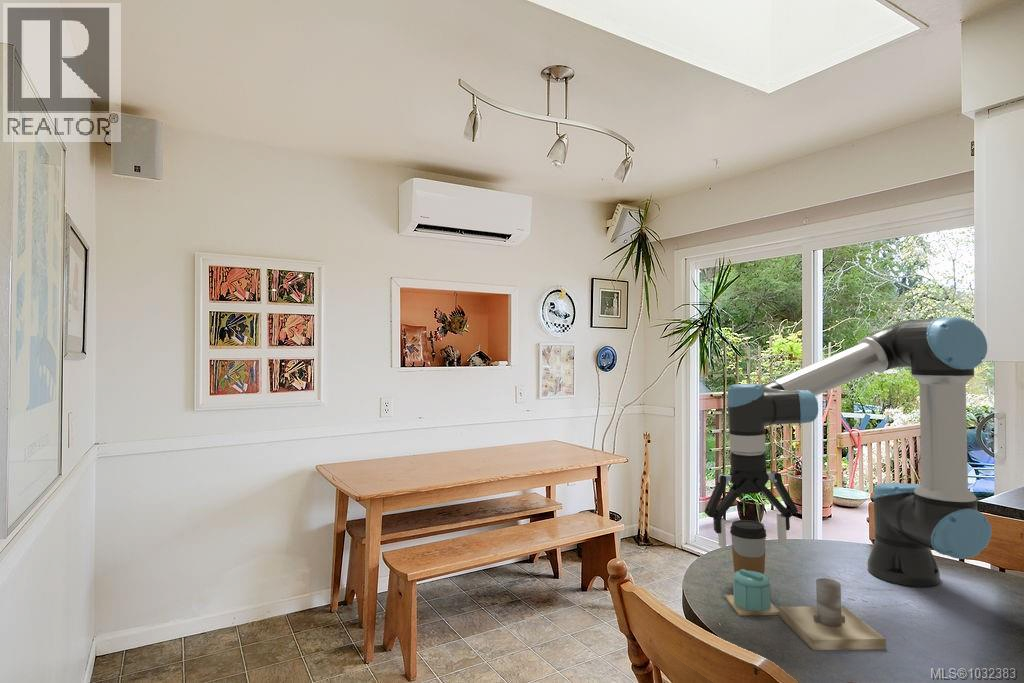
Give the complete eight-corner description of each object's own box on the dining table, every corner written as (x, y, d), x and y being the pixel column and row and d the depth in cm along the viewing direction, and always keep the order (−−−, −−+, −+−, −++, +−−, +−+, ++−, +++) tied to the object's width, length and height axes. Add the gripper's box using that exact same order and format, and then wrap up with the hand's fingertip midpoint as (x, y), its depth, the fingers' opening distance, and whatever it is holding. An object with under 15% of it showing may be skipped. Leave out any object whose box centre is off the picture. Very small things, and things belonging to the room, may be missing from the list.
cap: (776, 605, 127) (776, 575, 127) (755, 613, 123) (754, 582, 123) (748, 593, 133) (747, 564, 134) (727, 601, 130) (726, 571, 130)
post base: (844, 615, 123) (842, 569, 123) (885, 649, 109) (884, 597, 109) (779, 616, 123) (778, 569, 124) (813, 650, 109) (811, 598, 110)
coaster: (762, 597, 133) (762, 594, 133) (780, 614, 124) (780, 612, 124) (724, 597, 133) (724, 595, 133) (739, 615, 124) (739, 612, 124)
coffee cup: (771, 593, 134) (770, 530, 135) (734, 591, 136) (733, 528, 136) (763, 579, 143) (762, 520, 143) (728, 577, 144) (727, 518, 144)
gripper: (794, 446, 133) (799, 537, 132) (687, 451, 133) (692, 542, 132) (811, 452, 125) (816, 549, 125) (698, 457, 125) (703, 554, 125)
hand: (752, 545), depth 129 cm, fingers open, 13 cm apart
